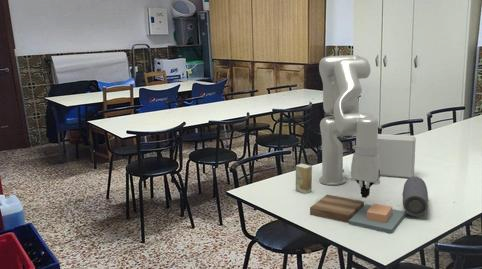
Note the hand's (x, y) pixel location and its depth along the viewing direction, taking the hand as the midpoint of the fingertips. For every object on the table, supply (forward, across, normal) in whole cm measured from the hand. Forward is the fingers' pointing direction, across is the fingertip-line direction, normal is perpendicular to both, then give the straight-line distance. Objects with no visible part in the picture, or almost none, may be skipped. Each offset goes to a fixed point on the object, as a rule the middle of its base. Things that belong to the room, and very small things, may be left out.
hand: (365, 196), depth 163 cm
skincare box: (+9, -33, +13) cm, 36 cm away
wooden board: (+8, -11, -1) cm, 14 cm away
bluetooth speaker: (+9, +14, +17) cm, 24 cm away
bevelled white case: (+10, -6, +53) cm, 54 cm away
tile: (+5, +6, -1) cm, 8 cm away
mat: (+8, +5, -1) cm, 10 cm away
